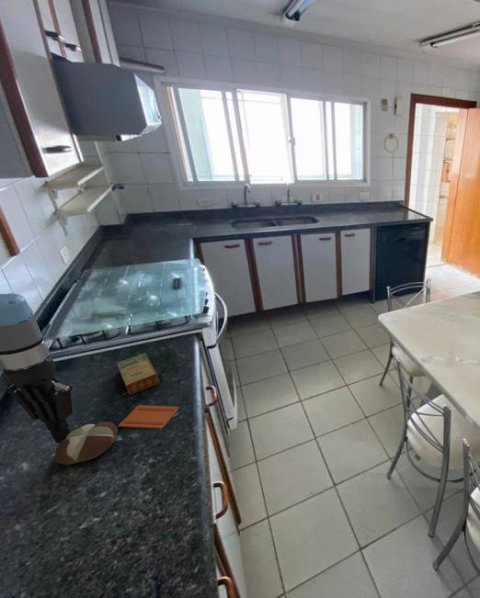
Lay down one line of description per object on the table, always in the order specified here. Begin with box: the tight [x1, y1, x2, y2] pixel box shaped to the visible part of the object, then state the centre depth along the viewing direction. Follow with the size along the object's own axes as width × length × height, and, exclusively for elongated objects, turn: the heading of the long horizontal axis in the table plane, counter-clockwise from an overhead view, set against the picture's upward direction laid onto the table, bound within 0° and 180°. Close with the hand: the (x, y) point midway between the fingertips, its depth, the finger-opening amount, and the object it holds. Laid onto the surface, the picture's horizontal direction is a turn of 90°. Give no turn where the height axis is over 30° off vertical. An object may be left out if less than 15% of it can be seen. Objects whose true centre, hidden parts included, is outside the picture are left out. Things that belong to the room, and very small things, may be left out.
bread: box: [54, 421, 119, 466], centre depth 83 cm, size 11×11×5 cm
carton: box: [116, 352, 161, 396], centre depth 107 cm, size 8×16×4 cm, turn 46°
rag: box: [117, 404, 179, 429], centre depth 94 cm, size 12×8×1 cm, turn 91°
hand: (63, 438), depth 83 cm, fingers closed
